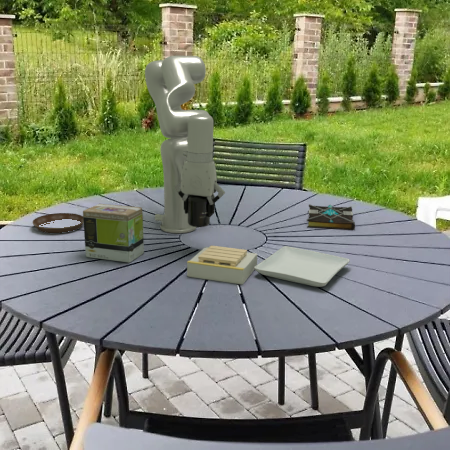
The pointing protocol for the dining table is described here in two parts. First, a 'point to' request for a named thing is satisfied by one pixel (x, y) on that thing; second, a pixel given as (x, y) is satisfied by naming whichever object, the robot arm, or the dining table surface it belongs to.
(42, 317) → the dining table surface
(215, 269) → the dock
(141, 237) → the tea box
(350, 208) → the book
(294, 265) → the salad plate
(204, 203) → the supplement bottle
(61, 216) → the plant saucer
